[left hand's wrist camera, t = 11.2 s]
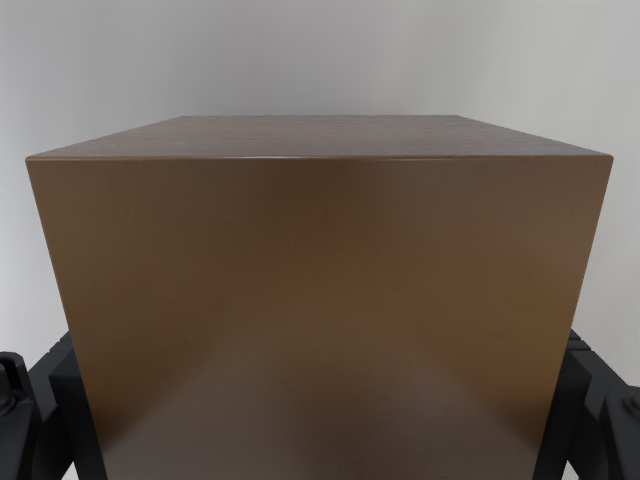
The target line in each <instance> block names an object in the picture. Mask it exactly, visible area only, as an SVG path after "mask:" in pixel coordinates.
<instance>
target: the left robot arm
mask: <svg viewBox="0 0 640 480" xmlns="http://www.w3.org/2000/svg"><path fill="white" fill-rule="evenodd" d="M567 459H568V461H569V463H570V464H571V466H572V467H573V469H574V470H575V472H576V473H577V475H578V476H579V479H578V480H640V387H635V386H628V385H627V384H626V383H625V382H624V381H623V380H622V379H621V378H620V377H619V376H618V375H617V374H616V373H615V372H614V371H613V370H612V369H611V368H610V367H609V366H608V365H607V364H606V363H605V362H604V361H603V360H602V359H601V358H600V357H599V356H598V355H597V354H596V353H595V352H594V351H591V348H590V347H589V346H588V345H587V344H586V343H585V342H584V341H583V340H581V338H580V337H579V336H578V335H577V334H576V333H575V332H574V331H573V330H572V329H570V333H569V337H568V341H567V345H566V349H565V353H564V357H563V361H562V365H561V369H560V373H559V377H558V381H557V384H556V388H555V392H554V396H553V400H552V404H551V408H550V412H549V416H548V420H547V424H546V428H545V432H544V436H543V440H542V444H541V447H540V451H539V455H538V459H537V463H536V467H535V471H534V475H533V479H532V480H561V479H562V476H563V473H564V469H565V466H566V463H567ZM73 461H74V465H75V468H76V472H77V475H78V478H79V480H108V477H107V473H106V470H105V466H104V462H103V458H102V454H101V450H100V447H99V443H98V439H97V435H96V431H95V427H94V423H93V420H92V416H91V412H90V408H89V404H88V400H87V397H86V393H85V389H84V385H83V381H82V377H81V373H80V370H79V366H78V362H77V358H76V354H75V350H74V347H73V343H72V339H71V335H70V331H68V332H67V333H66V334H65V335H64V336H63V337H62V338H61V339H60V342H57V343H56V344H55V345H54V346H53V347H52V348H51V349H50V352H49V353H46V354H45V355H44V356H43V357H42V358H41V359H40V360H39V361H38V362H37V363H36V364H35V365H34V366H33V367H32V368H31V369H30V370H29V371H28V372H27V369H26V366H25V363H24V360H23V357H22V356H20V355H19V354H17V353H14V352H0V480H62V478H63V476H64V475H65V473H66V471H67V470H68V468H69V467H70V465H71V464H72V462H73Z"/></svg>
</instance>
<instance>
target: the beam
mask: <svg viewBox="0 0 640 480" xmlns="http://www.w3.org/2000/svg"><path fill="white" fill-rule="evenodd" d="M613 160H614V159H613V156H611V155H609V154H605V153H601V152H597V151H593V150H590V149H586V148H582V147H578V146H574V145H570V144H566V143H562V142H558V141H555V140H551V139H547V138H543V137H539V136H535V135H531V134H527V133H523V132H519V131H516V130H512V129H508V128H504V127H500V126H496V125H492V124H488V123H484V122H481V121H477V120H473V119H469V118H465V117H461V116H457V115H376V116H181V117H177V118H173V119H169V120H166V121H162V122H158V123H154V124H150V125H146V126H143V127H139V128H135V129H131V130H127V131H123V132H120V133H116V134H112V135H108V136H104V137H100V138H97V139H93V140H89V141H85V142H81V143H77V144H74V145H70V146H66V147H62V148H58V149H55V150H51V151H47V152H43V153H39V154H35V155H32V156H28V157H26V159H25V162H26V166H27V170H28V174H29V177H30V181H31V185H32V189H33V193H34V197H35V200H36V204H37V208H38V212H39V216H40V220H41V224H42V227H43V231H44V235H45V239H46V243H47V247H48V250H49V254H50V258H51V262H52V266H53V270H54V273H55V277H56V281H57V285H58V289H59V293H60V297H61V300H62V304H63V308H64V312H65V316H66V320H67V323H68V327H69V331H70V335H71V339H72V343H73V347H74V350H75V354H76V358H77V362H78V366H79V370H80V373H81V377H82V381H83V385H84V389H85V393H86V397H87V400H88V404H89V408H90V412H91V416H92V420H93V423H94V427H95V431H96V435H97V439H98V443H99V447H100V450H101V454H102V458H103V462H104V466H105V470H106V473H107V477H108V480H532V479H533V475H534V471H535V467H536V463H537V459H538V455H539V451H540V447H541V444H542V440H543V436H544V432H545V428H546V424H547V420H548V416H549V412H550V408H551V404H552V400H553V396H554V392H555V388H556V384H557V381H558V377H559V373H560V369H561V365H562V361H563V357H564V353H565V349H566V345H567V341H568V337H569V333H570V329H571V325H572V321H573V318H574V314H575V310H576V306H577V302H578V298H579V294H580V290H581V286H582V282H583V278H584V274H585V270H586V266H587V262H588V258H589V255H590V251H591V247H592V243H593V239H594V235H595V231H596V227H597V223H598V219H599V215H600V211H601V207H602V203H603V199H604V195H605V192H606V188H607V184H608V180H609V176H610V172H611V168H612V164H613Z"/></svg>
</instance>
